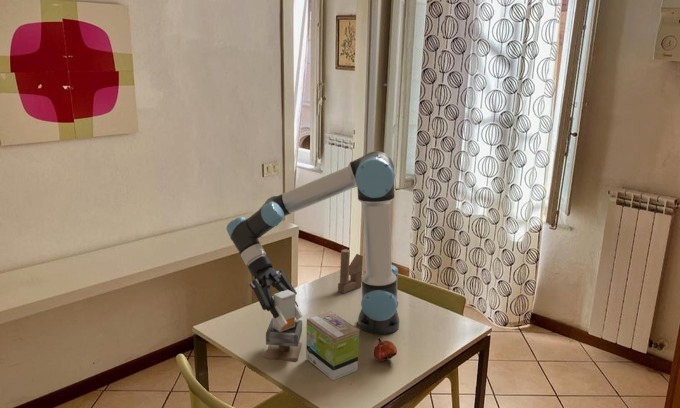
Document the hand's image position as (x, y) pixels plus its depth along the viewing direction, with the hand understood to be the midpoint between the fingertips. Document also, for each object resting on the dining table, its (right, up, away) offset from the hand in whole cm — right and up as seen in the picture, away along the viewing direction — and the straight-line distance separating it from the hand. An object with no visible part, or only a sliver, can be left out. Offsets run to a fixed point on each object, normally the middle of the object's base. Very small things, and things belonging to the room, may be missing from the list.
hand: (292, 321), depth 176 cm
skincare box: (-3, -3, +3) cm, 5 cm away
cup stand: (-3, -11, +5) cm, 13 cm away
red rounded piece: (+30, -13, +2) cm, 33 cm away
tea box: (+13, -14, -2) cm, 19 cm away
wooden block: (+19, +2, +55) cm, 59 cm away
